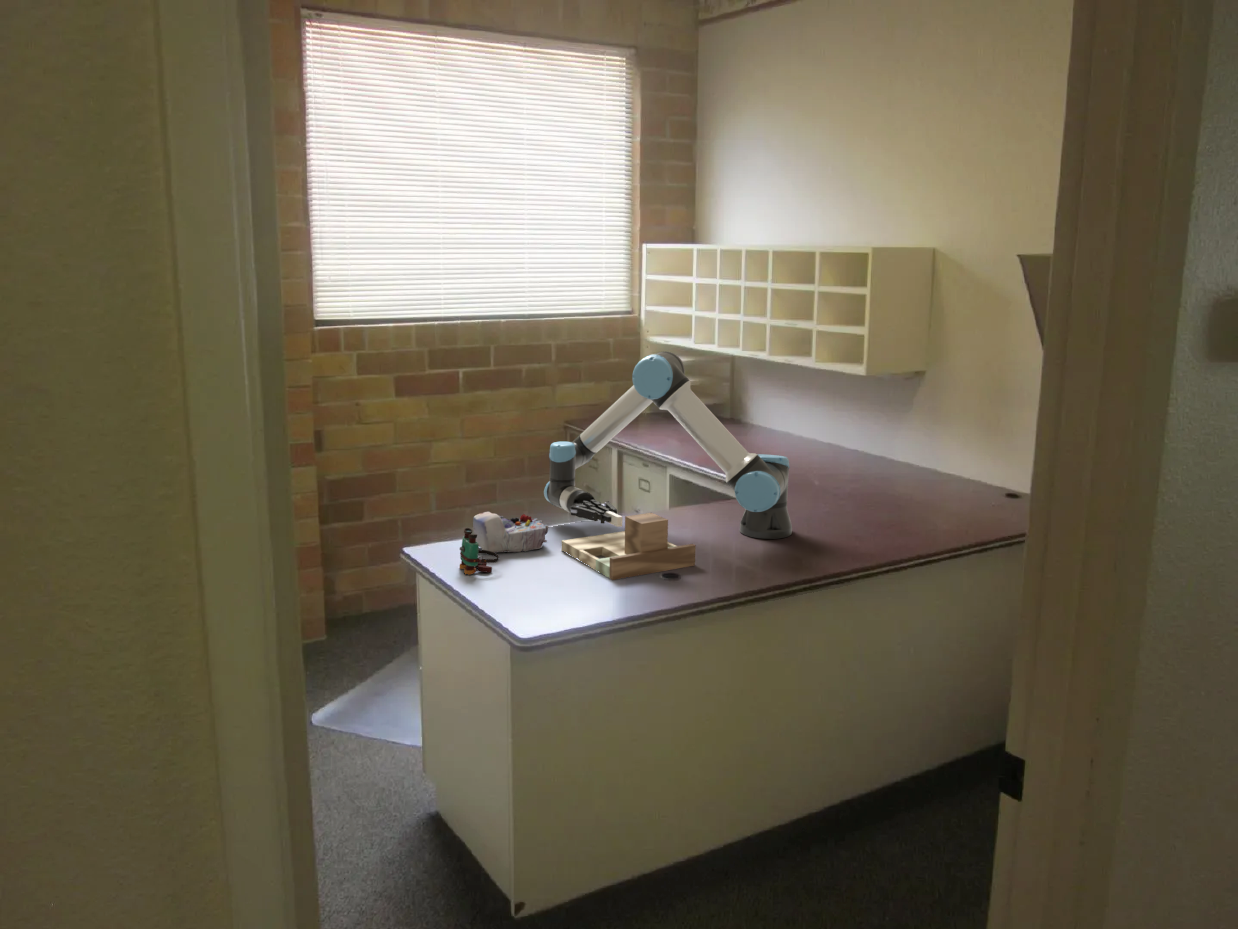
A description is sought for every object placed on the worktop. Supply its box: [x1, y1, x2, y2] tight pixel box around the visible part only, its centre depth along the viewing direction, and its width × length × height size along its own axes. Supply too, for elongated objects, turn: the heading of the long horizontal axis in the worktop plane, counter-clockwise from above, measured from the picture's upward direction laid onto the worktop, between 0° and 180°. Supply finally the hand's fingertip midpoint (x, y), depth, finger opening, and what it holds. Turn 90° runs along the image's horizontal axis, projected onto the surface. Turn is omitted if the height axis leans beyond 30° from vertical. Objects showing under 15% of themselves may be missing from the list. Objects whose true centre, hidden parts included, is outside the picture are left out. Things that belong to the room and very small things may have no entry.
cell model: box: [472, 511, 550, 553], centre depth 274 cm, size 13×11×20 cm
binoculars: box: [459, 527, 500, 576], centre depth 255 cm, size 9×11×10 cm
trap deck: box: [561, 530, 696, 581], centre depth 267 cm, size 28×25×6 cm
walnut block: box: [624, 512, 669, 555], centre depth 259 cm, size 8×8×10 cm
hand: (619, 521), depth 269 cm, fingers closed
